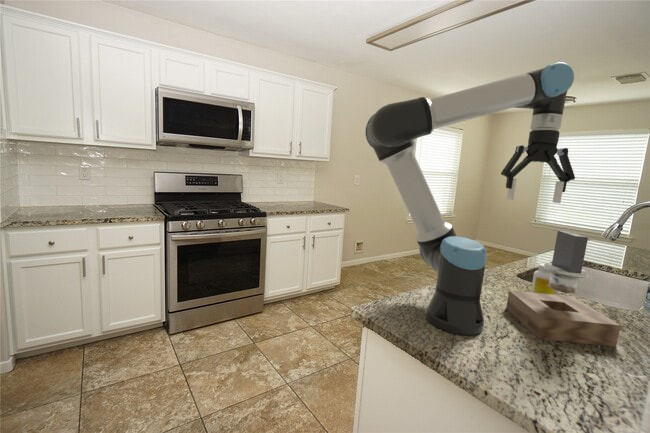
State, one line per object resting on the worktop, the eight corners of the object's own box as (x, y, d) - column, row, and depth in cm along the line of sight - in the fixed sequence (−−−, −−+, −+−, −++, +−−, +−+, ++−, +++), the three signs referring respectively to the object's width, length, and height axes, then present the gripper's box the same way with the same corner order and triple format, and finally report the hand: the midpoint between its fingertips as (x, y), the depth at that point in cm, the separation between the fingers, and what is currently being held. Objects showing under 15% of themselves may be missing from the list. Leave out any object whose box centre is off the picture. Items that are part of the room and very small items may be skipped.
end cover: (553, 293, 88) (564, 235, 85) (534, 281, 98) (543, 228, 95) (593, 297, 87) (605, 239, 84) (569, 284, 97) (579, 231, 94)
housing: (538, 338, 85) (542, 317, 84) (506, 308, 104) (509, 290, 103) (615, 347, 84) (620, 325, 83) (568, 314, 102) (572, 296, 101)
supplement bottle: (556, 306, 108) (562, 269, 106) (534, 303, 109) (540, 267, 107) (546, 299, 115) (553, 264, 113) (526, 296, 116) (532, 261, 114)
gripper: (506, 126, 94) (496, 199, 97) (598, 131, 92) (584, 205, 95) (496, 129, 102) (486, 196, 105) (580, 134, 99) (568, 202, 102)
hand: (532, 201), depth 100 cm, fingers open, 13 cm apart
